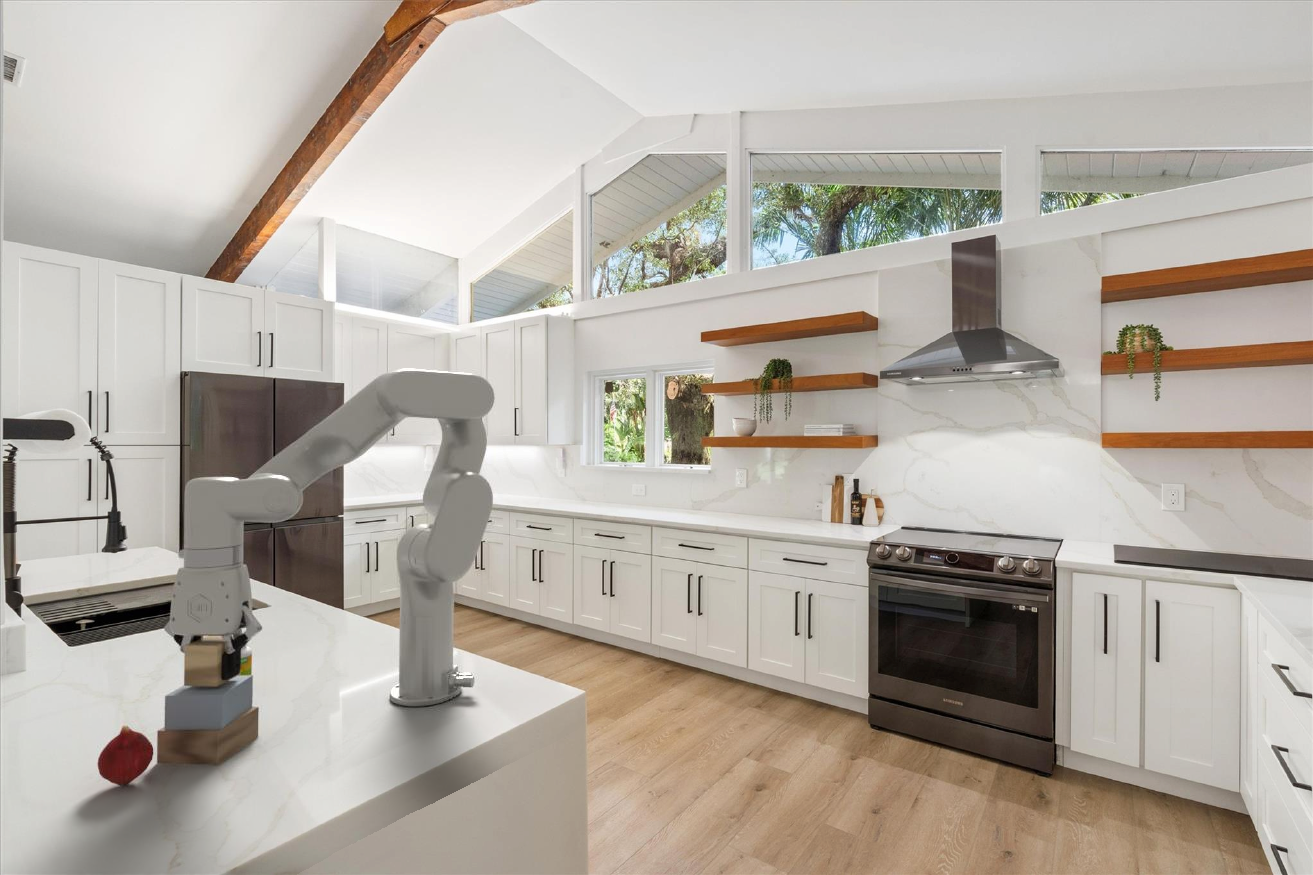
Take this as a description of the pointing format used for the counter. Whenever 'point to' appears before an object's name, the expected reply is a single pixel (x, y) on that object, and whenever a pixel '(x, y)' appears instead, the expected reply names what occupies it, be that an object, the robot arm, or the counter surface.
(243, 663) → the supplement bottle
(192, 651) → the oak block
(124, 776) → the onion
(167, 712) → the grey square block
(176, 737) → the tower base
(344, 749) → the counter surface
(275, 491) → the robot arm
